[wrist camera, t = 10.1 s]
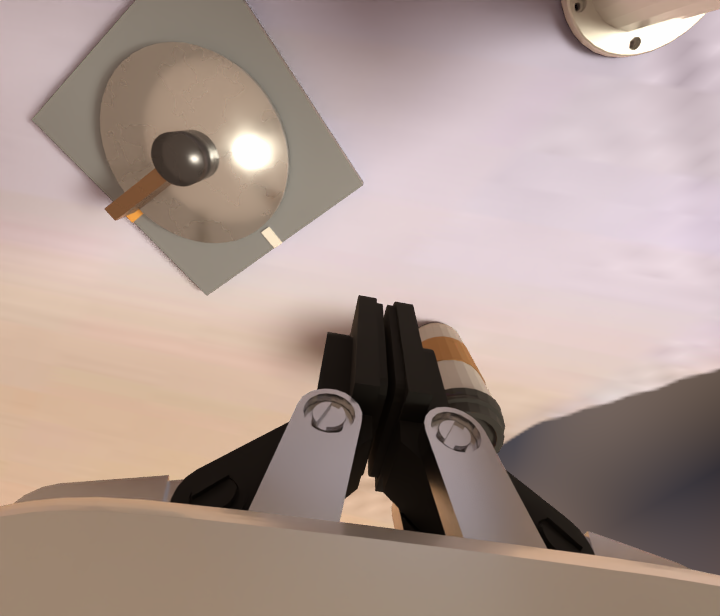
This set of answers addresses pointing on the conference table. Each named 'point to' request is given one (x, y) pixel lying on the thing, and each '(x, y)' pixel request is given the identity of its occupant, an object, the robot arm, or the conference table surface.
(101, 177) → the dial plate
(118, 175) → the dial
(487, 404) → the coffee cup
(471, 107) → the conference table surface
